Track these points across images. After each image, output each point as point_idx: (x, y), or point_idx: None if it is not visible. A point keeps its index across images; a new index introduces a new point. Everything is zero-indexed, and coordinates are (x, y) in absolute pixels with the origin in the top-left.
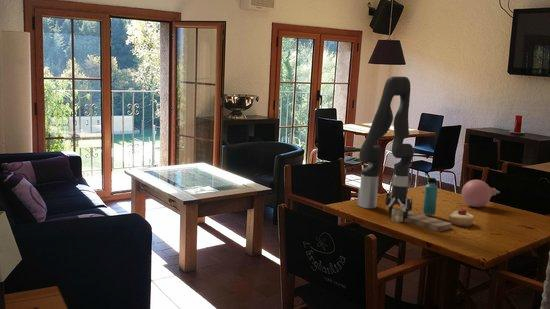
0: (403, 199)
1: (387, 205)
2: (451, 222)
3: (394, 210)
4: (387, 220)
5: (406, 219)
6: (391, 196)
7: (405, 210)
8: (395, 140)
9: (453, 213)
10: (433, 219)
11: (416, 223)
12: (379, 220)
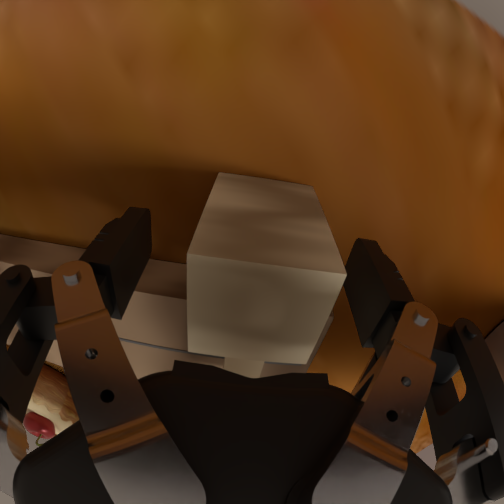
0: (32, 482)
1: (443, 325)
2: (49, 373)
3: (288, 254)
4: (342, 155)
5: (180, 278)
6: (447, 494)
7: (56, 272)
8: None
9: (51, 417)
10: (52, 350)
11: (79, 255)
12: (405, 90)
